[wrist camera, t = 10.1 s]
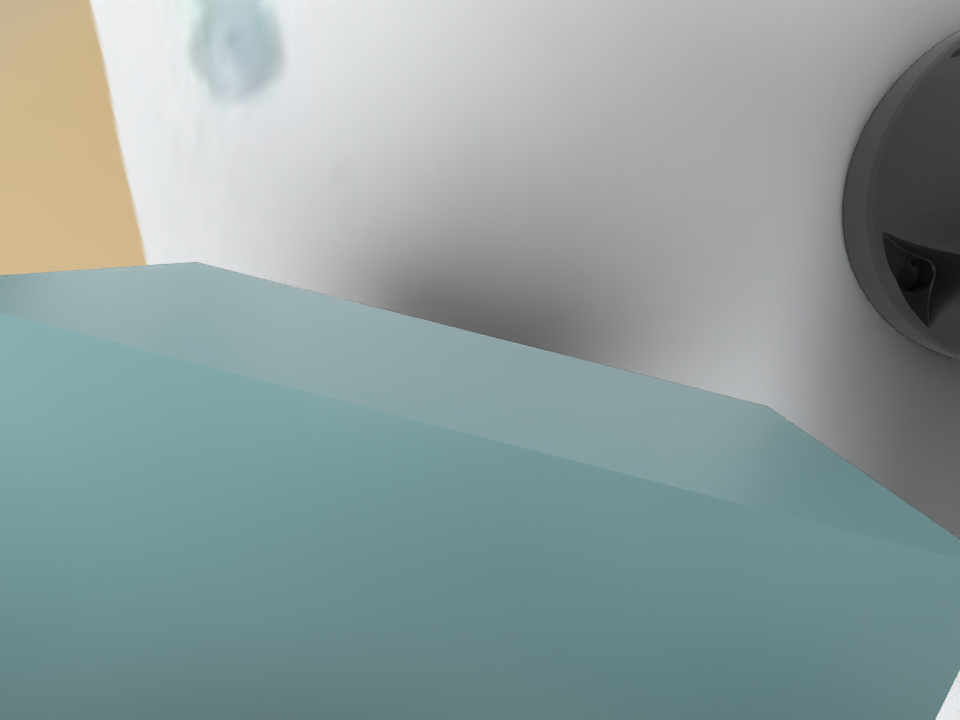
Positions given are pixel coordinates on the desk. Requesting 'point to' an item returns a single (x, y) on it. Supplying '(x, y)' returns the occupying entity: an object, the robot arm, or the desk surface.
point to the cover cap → (424, 526)
